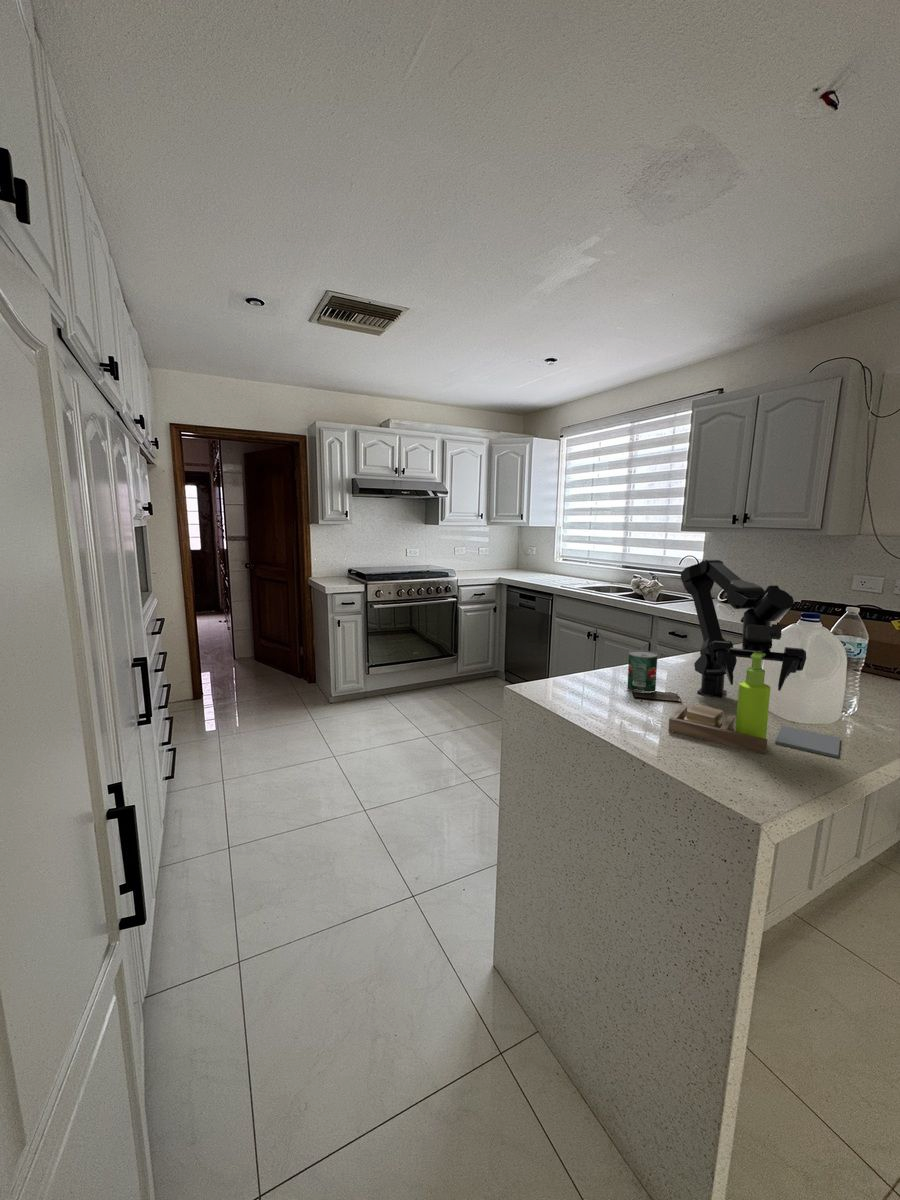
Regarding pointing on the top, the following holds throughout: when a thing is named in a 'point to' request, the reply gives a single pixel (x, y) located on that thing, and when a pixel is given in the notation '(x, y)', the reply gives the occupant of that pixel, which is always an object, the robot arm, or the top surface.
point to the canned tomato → (642, 670)
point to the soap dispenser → (753, 700)
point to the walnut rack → (716, 732)
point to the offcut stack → (705, 716)
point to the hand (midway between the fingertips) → (755, 686)
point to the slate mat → (808, 741)
